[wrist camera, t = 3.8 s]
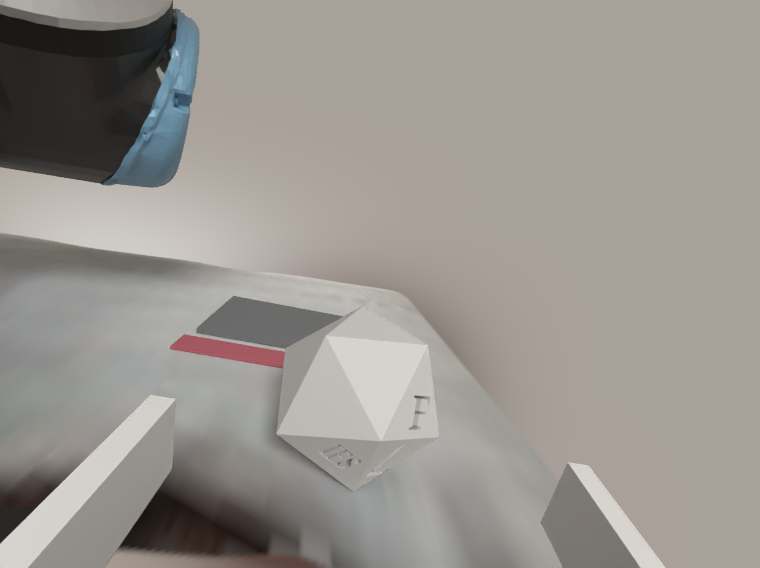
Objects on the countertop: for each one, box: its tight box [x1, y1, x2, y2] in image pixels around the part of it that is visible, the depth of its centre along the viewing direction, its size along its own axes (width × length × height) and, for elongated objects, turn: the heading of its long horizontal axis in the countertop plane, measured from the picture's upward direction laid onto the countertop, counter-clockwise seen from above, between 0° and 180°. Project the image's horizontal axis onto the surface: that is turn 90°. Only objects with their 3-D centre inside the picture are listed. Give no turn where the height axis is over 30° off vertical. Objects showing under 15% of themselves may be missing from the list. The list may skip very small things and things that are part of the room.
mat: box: [197, 296, 343, 348], centre depth 33 cm, size 16×8×1 cm, turn 91°
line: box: [170, 334, 285, 368], centre depth 27 cm, size 17×2×1 cm, turn 91°
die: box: [276, 306, 439, 492], centre depth 19 cm, size 8×9×10 cm
